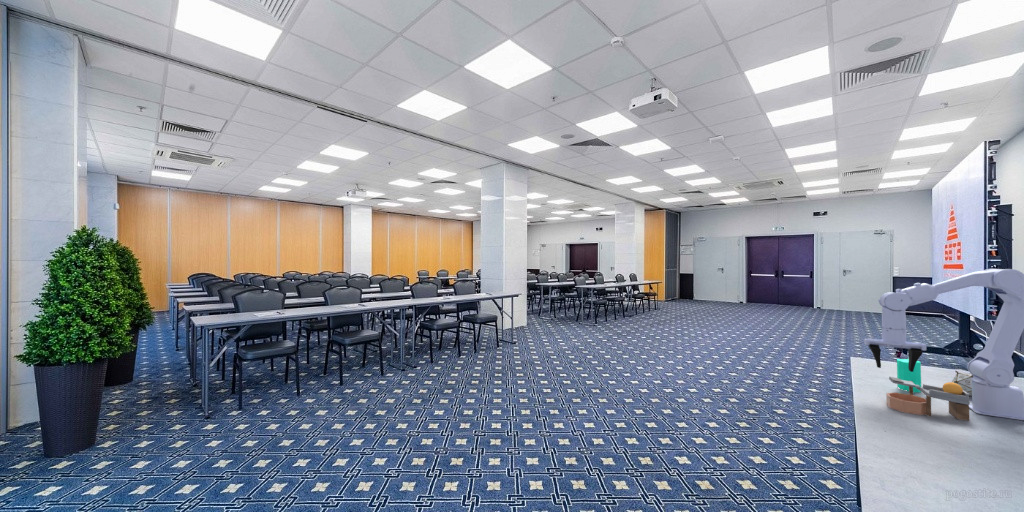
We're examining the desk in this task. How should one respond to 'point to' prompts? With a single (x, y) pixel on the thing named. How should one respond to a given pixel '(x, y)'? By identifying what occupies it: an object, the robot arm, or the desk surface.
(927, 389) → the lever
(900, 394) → the bowl
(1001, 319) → the robot arm
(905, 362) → the candle
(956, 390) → the ball
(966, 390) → the game die
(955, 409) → the lever stand
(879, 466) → the desk surface
